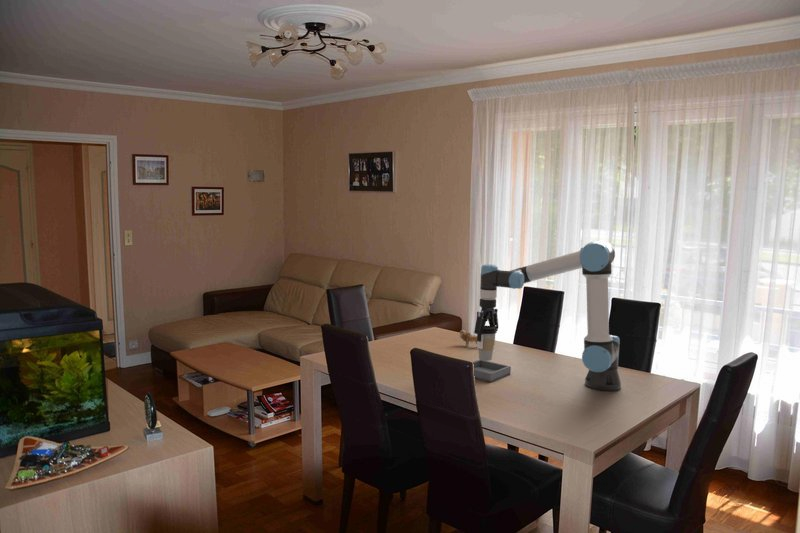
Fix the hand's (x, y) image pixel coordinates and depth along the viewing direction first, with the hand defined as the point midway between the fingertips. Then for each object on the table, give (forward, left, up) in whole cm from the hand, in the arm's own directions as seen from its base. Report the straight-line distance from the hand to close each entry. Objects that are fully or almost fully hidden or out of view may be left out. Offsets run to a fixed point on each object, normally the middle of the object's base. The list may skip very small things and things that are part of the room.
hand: (485, 346), depth 279 cm
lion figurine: (+34, -38, -14) cm, 53 cm away
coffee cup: (0, 0, -6) cm, 6 cm away
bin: (0, 0, -13) cm, 13 cm away
